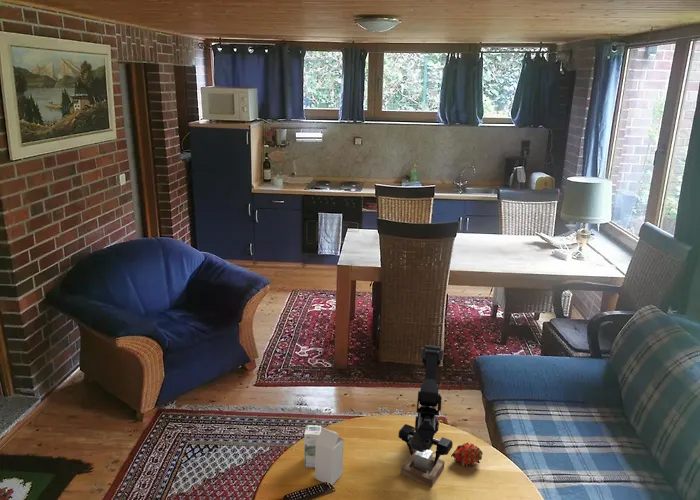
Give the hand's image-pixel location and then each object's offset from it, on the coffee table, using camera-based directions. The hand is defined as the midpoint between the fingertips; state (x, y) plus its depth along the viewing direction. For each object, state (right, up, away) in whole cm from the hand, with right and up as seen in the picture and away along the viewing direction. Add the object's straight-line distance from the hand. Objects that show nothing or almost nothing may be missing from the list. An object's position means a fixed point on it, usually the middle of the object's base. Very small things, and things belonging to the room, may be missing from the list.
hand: (423, 459), depth 199 cm
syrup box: (-40, -3, +4) cm, 41 cm away
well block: (0, -5, +2) cm, 5 cm away
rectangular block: (0, -5, +2) cm, 5 cm away
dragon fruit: (+17, -4, +7) cm, 19 cm away
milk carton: (-34, -5, -3) cm, 35 cm away
